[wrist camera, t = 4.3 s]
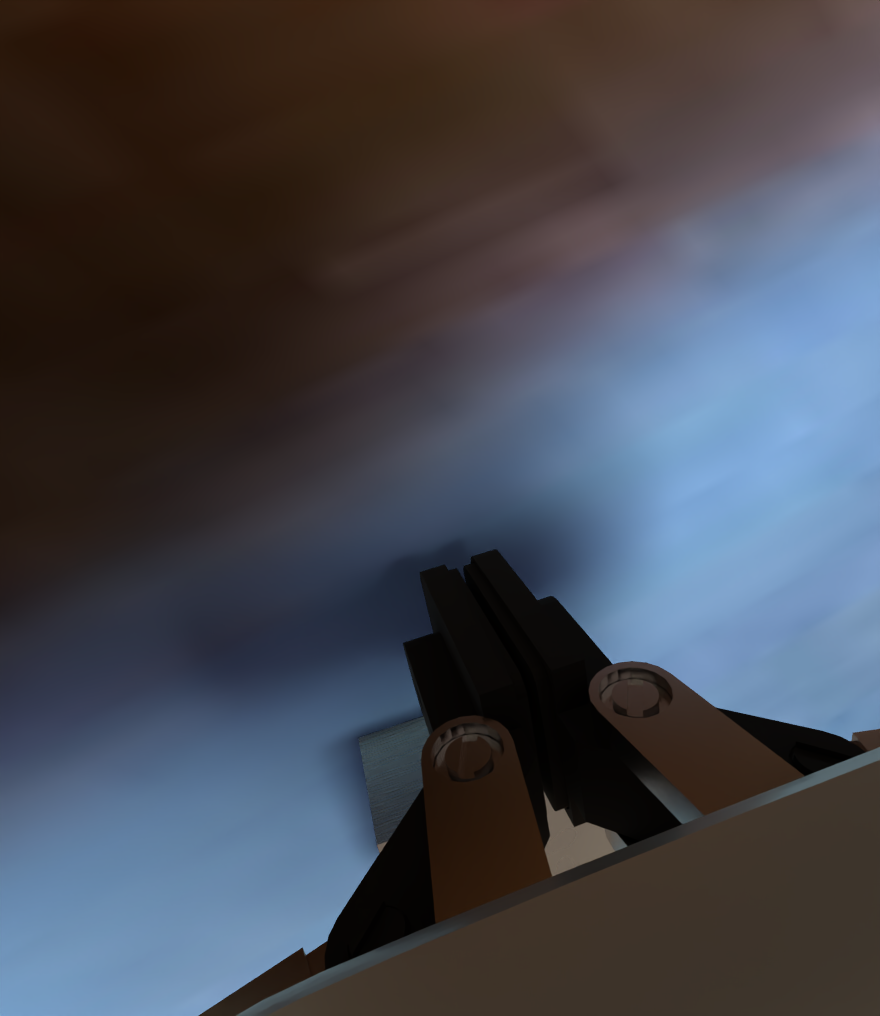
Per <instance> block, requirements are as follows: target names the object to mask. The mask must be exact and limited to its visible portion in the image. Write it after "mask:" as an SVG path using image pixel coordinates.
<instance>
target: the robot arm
mask: <svg viewBox="0 0 880 1016" xmlns="http://www.w3.org/2000/svg"><path fill="white" fill-rule="evenodd" d="M463 570H464V576H465V581H466V583H465V581H464V579H463V578H462V576H461V575H460V573H459V571H458V570H457V568H455V569H452V570H448V569H447V567H446V566H445V565H442V566H438V567H435V568H432V569H428V570H425V571H422V572H420V579H421V583H422V587H423V592H424V596H425V600H426V604H427V608H428V612H429V617H430V621H431V625H432V629H433V634H429V635H426V636H423V637H420V638H417V639H414V640H411V641H407V642H404V643H403V646H404V650H405V654H406V658H407V661H408V665H409V669H410V673H411V676H412V680H413V683H414V687H415V690H416V694H417V697H418V700H419V704H420V707H421V710H422V713H423V716H424V720H425V723H426V726H427V729H428V732H429V735H430V736H429V737H428V738H427V740H426V742H425V744H424V746H423V749H422V755H421V768H422V779H423V788H422V790H421V791H420V793H419V794H418V796H417V797H416V799H415V800H414V802H413V803H412V805H411V806H410V808H409V809H408V811H407V813H406V814H405V816H404V817H403V819H402V820H401V822H400V823H399V825H398V826H397V828H396V829H395V831H394V832H393V834H392V835H391V837H390V839H389V840H388V842H387V843H386V845H385V846H384V848H383V849H382V851H381V852H380V854H379V855H378V857H377V858H376V860H375V861H374V863H373V865H372V866H371V868H370V869H369V871H368V872H367V874H366V875H365V877H364V878H363V880H362V881H361V883H360V884H359V886H358V888H357V889H356V891H355V892H354V894H353V895H352V897H351V898H350V900H349V901H348V903H347V904H346V906H345V907H344V909H343V910H342V912H341V914H340V915H339V917H338V918H337V920H336V922H335V924H334V926H333V928H332V930H331V932H330V934H329V937H328V941H327V942H325V943H324V944H322V945H321V946H319V947H318V948H316V949H315V950H313V951H312V952H310V953H309V954H307V955H306V954H305V952H304V950H303V948H301V949H300V950H298V951H296V952H295V953H293V954H292V955H290V956H289V957H287V958H286V959H284V960H283V961H281V962H280V963H278V964H277V965H275V966H274V967H272V968H271V969H269V970H267V971H266V972H264V973H263V974H261V975H260V976H258V977H257V978H255V979H254V980H252V981H251V982H249V983H248V984H246V985H245V986H243V987H242V988H240V989H238V990H237V991H235V992H234V993H232V994H231V995H229V996H228V997H226V998H225V999H223V1000H222V1001H220V1002H219V1003H217V1004H216V1005H214V1006H213V1007H211V1008H209V1009H208V1010H206V1011H205V1012H203V1013H202V1014H200V1015H199V1016H880V729H876V730H869V731H862V732H855V733H853V735H852V741H848V740H846V739H844V738H842V737H840V736H837V735H834V734H831V733H827V732H824V731H820V730H816V729H811V728H807V727H802V726H797V725H793V724H788V723H784V722H779V721H775V720H770V719H765V718H761V717H756V716H752V715H747V714H743V713H738V712H733V711H729V710H724V709H720V708H715V707H714V706H713V705H711V704H710V703H709V702H707V701H706V700H705V699H703V698H702V697H701V696H700V695H698V694H697V693H696V692H694V691H693V690H692V689H690V688H689V687H688V686H686V685H685V684H684V683H683V682H681V681H680V680H679V679H677V678H676V677H675V676H673V675H672V674H671V673H669V672H667V671H666V670H664V669H662V668H660V667H658V666H655V665H652V664H648V663H644V662H633V661H630V662H621V663H616V664H612V663H611V662H610V661H609V659H608V658H607V657H606V656H605V655H604V654H603V652H602V651H601V650H600V649H599V648H598V647H597V645H596V644H595V643H594V642H593V641H592V640H591V638H590V637H589V636H588V635H587V634H586V633H585V632H584V630H583V629H582V628H581V627H580V626H579V625H578V623H577V622H576V621H575V620H574V619H573V618H572V616H571V615H570V614H569V613H568V612H567V611H566V609H565V608H564V607H563V606H562V605H561V604H560V603H559V601H558V600H557V599H556V598H554V597H553V596H549V597H546V598H543V599H539V600H537V599H536V598H535V597H534V596H533V594H532V593H531V592H530V591H529V589H528V588H527V587H526V586H525V584H524V583H523V582H522V581H521V579H520V578H519V577H518V575H517V574H516V573H515V572H514V570H513V569H512V568H511V567H510V565H509V564H508V563H507V562H506V560H505V559H504V558H503V557H502V555H501V554H500V553H499V552H498V551H497V550H492V551H488V552H485V553H482V554H478V555H475V556H472V557H471V564H469V565H465V566H464V567H463ZM544 793H545V794H546V796H547V798H548V800H549V802H550V804H551V806H552V808H553V809H554V811H559V810H562V809H565V811H566V813H567V815H568V817H569V819H570V820H571V822H572V824H573V826H574V827H576V826H579V825H581V824H584V823H586V822H587V823H590V824H593V825H596V826H599V827H602V828H604V829H605V834H606V837H607V839H608V841H609V843H610V844H611V846H612V848H613V849H614V850H615V852H612V853H610V854H607V855H605V856H602V857H600V858H597V859H595V860H592V861H590V862H587V863H585V864H582V865H580V866H577V867H575V868H572V869H570V870H567V871H565V872H562V873H560V874H557V875H555V876H552V874H551V870H550V867H549V863H548V860H547V856H546V853H545V847H546V845H547V842H548V840H549V837H550V831H549V826H548V820H547V808H546V802H545V796H544Z"/></svg>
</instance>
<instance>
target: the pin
mask: <svg viewBox="0 0 880 1016" xmlns="http://www.w3.org/2000/svg"><path fill="white" fill-rule="evenodd" d="M429 736H430V735H429V732H428V729H427V726H426V723H425V720H424V716H422V717H419V718H416V719H413V720H410V721H407V722H404V723H401V724H398V725H395V726H392V727H389V728H386V729H383V730H380V731H377V732H374V733H371V734H368V735H365V736H363V737H360V738H358V739H359V745H360V750H361V756H362V762H363V767H364V773H365V779H366V785H367V790H368V796H369V802H370V808H371V813H372V819H373V825H374V830H375V836H376V842H377V846H378V849H379V852H381V851H382V849H383V848H384V846H385V845H386V843H387V842H388V840H389V839H390V837H391V835H392V834H393V832H394V831H395V829H396V828H397V826H398V825H399V823H400V822H401V820H402V819H403V817H404V816H405V814H406V813H407V811H408V809H409V808H410V806H411V805H412V803H413V802H414V800H415V799H416V797H417V796H418V794H419V793H420V791H421V790H422V788H423V779H422V768H421V755H422V749H423V746H424V744H425V742H426V740H427V738H428V737H429ZM544 796H545V802H546V808H547V820H548V826H549V831H550V837H549V840H548V842H547V845H546V847H545V853H546V856H547V860H548V863H549V867H550V870H551V874H552V876H555V875H557V874H560V873H562V872H565V871H567V870H570V869H572V868H575V867H577V866H580V865H582V864H585V863H587V862H590V861H592V860H595V859H597V858H600V857H602V856H605V855H607V854H610V853H612V852H615V850H614V849H613V848H612V846H611V844H610V843H609V841H608V839H607V837H606V834H605V829H604V828H602V827H599V826H596V825H593V824H590V823H587V822H586V823H584V824H581V825H579V826H576V827H574V826H573V824H572V822H571V820H570V819H569V817H568V815H567V813H566V811H565V809H562V810H559V811H554V809H553V808H552V806H551V804H550V802H549V800H548V798H547V796H546V794H545V793H544Z"/></svg>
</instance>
